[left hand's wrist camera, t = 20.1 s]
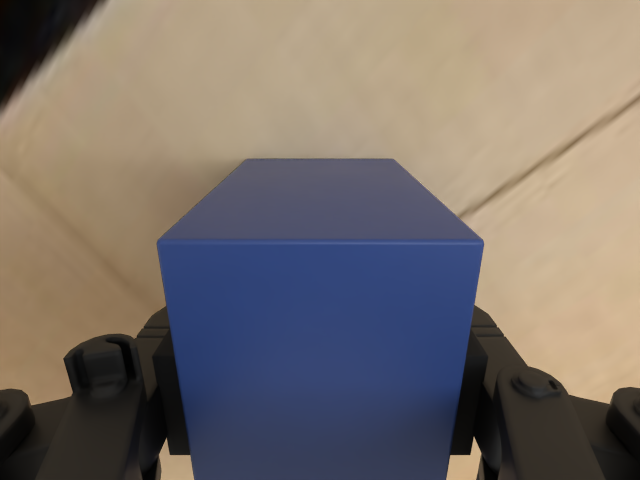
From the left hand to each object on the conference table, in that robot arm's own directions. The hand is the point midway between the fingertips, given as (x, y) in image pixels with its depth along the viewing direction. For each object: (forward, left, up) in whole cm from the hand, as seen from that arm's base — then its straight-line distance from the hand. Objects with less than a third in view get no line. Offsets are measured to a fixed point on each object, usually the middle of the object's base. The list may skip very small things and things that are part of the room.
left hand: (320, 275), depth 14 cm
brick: (0, 0, -1) cm, 1 cm away
